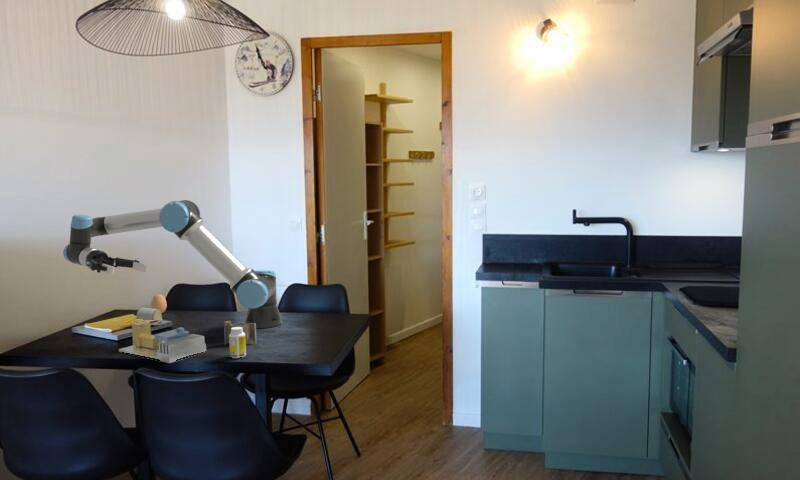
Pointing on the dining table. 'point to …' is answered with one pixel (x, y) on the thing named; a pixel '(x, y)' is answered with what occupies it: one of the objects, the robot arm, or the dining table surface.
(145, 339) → the beige wooden block
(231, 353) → the supplement bottle
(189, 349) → the grey building model
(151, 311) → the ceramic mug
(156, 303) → the egg
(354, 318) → the dining table surface
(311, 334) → the dining table surface
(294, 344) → the dining table surface
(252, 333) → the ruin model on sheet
